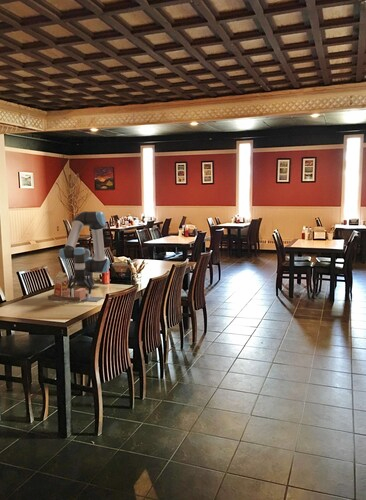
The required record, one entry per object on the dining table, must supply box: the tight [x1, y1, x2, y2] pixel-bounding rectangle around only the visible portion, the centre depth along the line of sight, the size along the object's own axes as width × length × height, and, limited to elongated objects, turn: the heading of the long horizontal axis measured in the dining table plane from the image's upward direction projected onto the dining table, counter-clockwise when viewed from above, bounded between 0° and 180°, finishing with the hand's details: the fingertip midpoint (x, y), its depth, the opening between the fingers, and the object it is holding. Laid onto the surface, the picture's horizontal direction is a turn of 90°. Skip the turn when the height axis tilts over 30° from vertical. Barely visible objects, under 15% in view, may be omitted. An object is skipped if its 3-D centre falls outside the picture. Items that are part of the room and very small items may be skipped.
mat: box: [80, 296, 104, 303], centre depth 308 cm, size 12×12×1 cm
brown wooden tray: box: [47, 292, 88, 302], centre depth 312 cm, size 15×24×2 cm, turn 78°
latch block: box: [74, 287, 87, 301], centre depth 310 cm, size 10×4×7 cm, turn 168°
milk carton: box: [53, 270, 71, 297], centre depth 312 cm, size 9×9×20 cm
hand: (80, 297), depth 310 cm, fingers open, 12 cm apart
